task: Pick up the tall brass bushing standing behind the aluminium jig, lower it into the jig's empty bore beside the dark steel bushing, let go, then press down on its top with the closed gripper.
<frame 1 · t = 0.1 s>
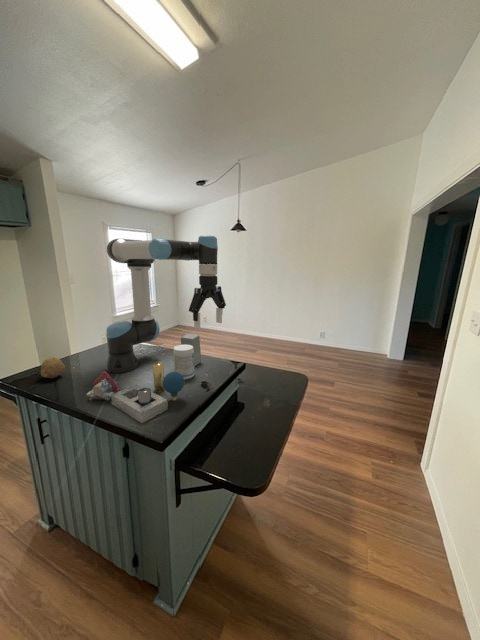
hand: (208, 325, 109), 28 cm above the table, tool pointing down, fingers open, 13 cm apart
natural sponge: (54, 378, 119), on the table
grey red irregular piece: (106, 397, 103), on the table
light bulb: (174, 400, 102), on the table
jig: (139, 406, 97), on the table
skincare box: (191, 363, 139), on the table
brass bushing: (159, 389, 110), on the table
supplement tub: (184, 376, 124), on the table
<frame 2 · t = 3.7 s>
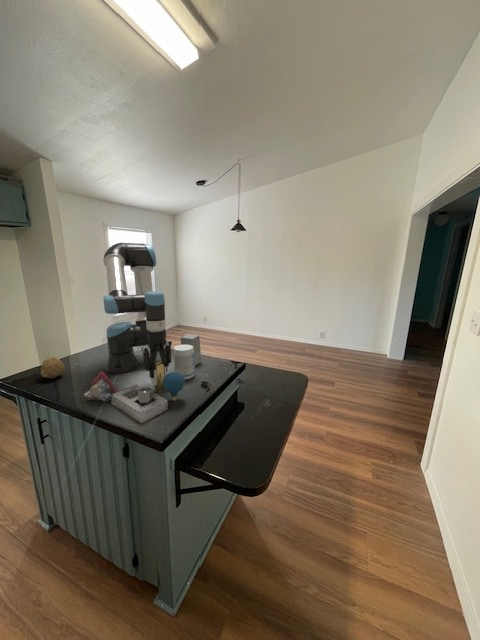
hand: (159, 381, 109), 4 cm above the table, tool pointing down, fingers closed on brass bushing, 4 cm apart
brass bushing: (159, 389, 110), on the table, touching gripper
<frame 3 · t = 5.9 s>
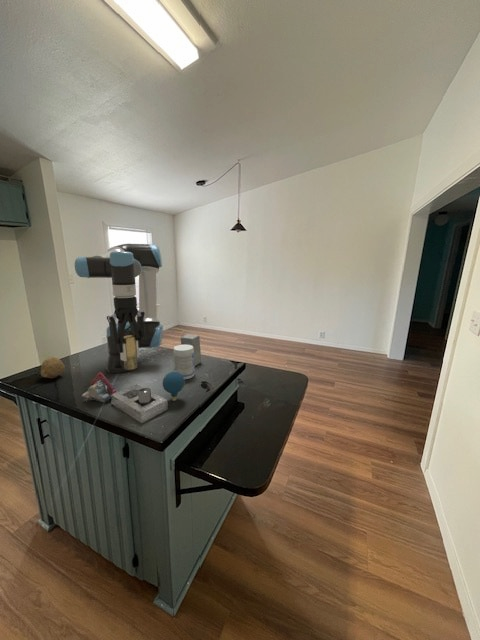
hand: (130, 358, 95), 19 cm above the table, tool pointing down, fingers closed on brass bushing, 4 cm apart
brass bushing: (130, 367, 96), point 15 cm above the table, touching gripper
when the fingers open (6 cm above the table, at t = 8.5 s): brass bushing drops 2 cm, resting in jig.
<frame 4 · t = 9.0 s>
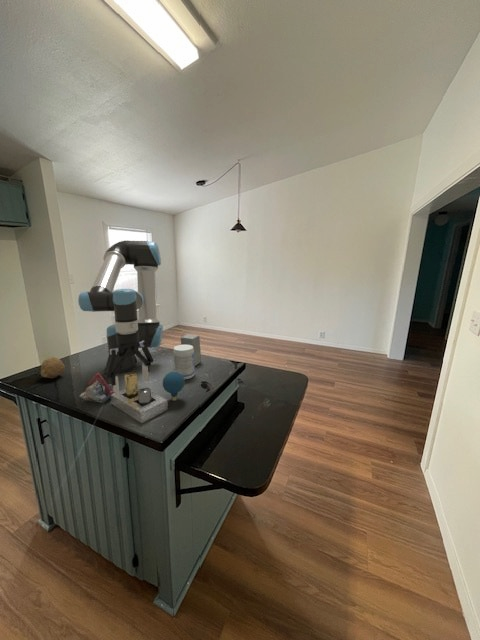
hand: (131, 386, 98), 7 cm above the table, tool pointing down, fingers open, 11 cm apart
brass bushing: (133, 403, 99), resting in jig
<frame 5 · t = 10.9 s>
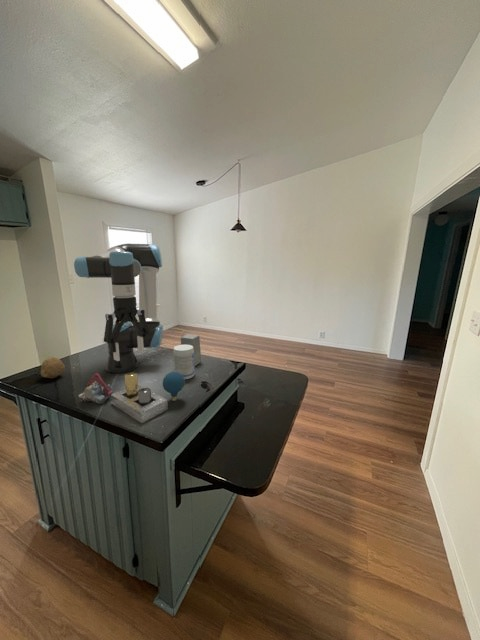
hand: (129, 356, 95), 19 cm above the table, tool pointing down, fingers open, 9 cm apart
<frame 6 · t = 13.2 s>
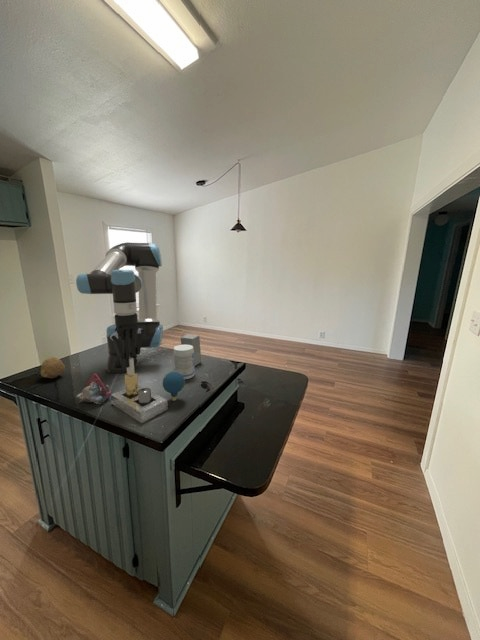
hand: (130, 374, 96), 12 cm above the table, tool pointing down, fingers closed
brass bushing: (133, 403, 99), resting in jig, touching gripper
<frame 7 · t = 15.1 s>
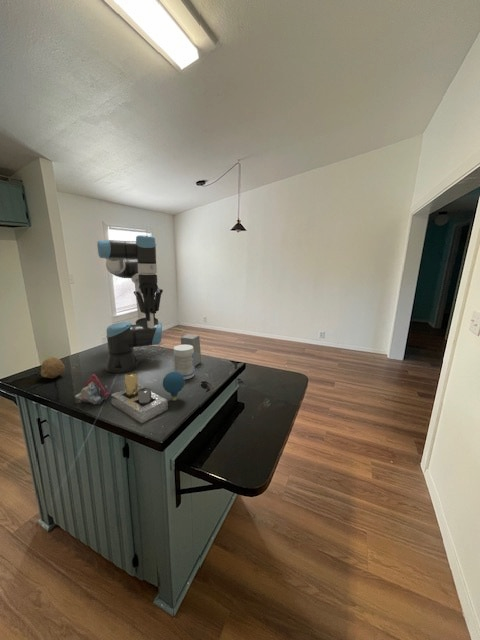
hand: (150, 327, 113), 26 cm above the table, tool pointing down, fingers closed
brass bushing: (133, 403, 99), resting in jig
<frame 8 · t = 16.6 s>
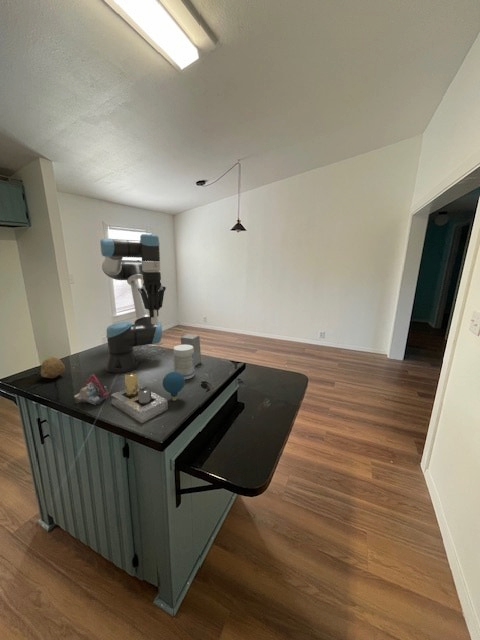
hand: (154, 323, 116), 26 cm above the table, tool pointing down, fingers closed
at the end: brass bushing 0.0 cm from the target spot on the jig, point 0.0 cm above the jig's base; brass bushing tilted 0°; the gripper is holding nothing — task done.
